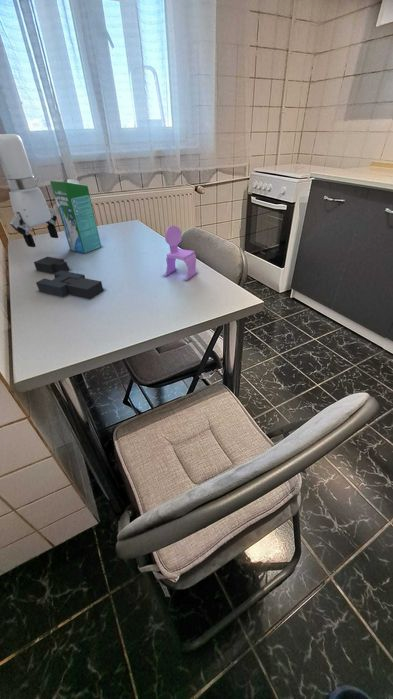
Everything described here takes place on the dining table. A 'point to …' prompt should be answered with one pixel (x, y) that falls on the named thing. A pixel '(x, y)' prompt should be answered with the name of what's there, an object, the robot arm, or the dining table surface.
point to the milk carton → (76, 215)
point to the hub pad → (57, 283)
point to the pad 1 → (51, 265)
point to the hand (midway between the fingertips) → (43, 241)
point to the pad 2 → (84, 287)
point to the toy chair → (178, 252)
